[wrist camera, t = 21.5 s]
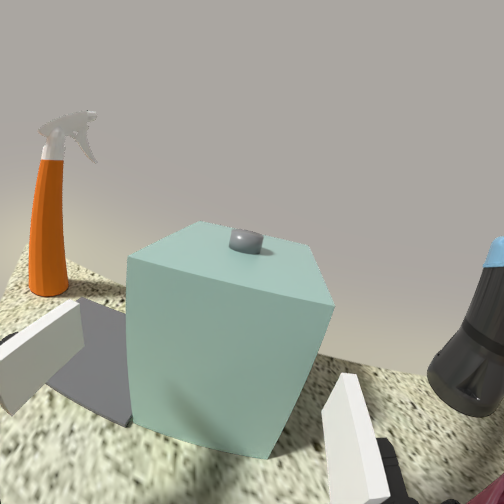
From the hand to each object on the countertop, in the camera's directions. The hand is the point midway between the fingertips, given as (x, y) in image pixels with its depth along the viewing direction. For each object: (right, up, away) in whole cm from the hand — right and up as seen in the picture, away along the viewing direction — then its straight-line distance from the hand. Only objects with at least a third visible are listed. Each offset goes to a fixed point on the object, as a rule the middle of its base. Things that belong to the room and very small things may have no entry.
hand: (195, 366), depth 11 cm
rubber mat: (-15, -5, +13) cm, 20 cm away
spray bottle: (-27, 0, +23) cm, 36 cm away
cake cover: (-1, -8, +13) cm, 15 cm away
